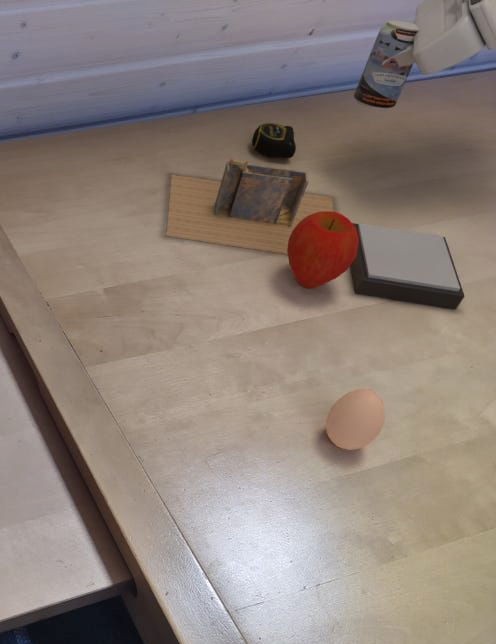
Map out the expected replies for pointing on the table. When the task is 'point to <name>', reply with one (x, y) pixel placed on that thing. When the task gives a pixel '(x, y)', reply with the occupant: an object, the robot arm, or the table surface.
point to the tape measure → (274, 141)
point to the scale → (405, 267)
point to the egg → (355, 419)
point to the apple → (321, 248)
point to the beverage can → (386, 67)
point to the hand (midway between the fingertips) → (385, 58)
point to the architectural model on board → (243, 206)
